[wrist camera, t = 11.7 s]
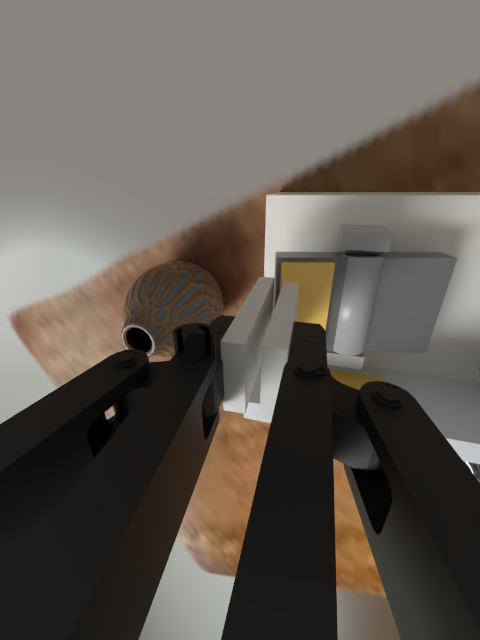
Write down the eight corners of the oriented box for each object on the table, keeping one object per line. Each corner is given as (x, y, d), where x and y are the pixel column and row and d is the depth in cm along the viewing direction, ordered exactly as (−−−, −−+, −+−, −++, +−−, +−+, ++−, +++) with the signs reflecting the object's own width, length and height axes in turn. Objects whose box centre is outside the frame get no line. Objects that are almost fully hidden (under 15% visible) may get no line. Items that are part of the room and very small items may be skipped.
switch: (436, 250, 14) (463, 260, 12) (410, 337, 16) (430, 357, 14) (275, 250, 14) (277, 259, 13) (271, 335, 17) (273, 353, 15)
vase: (211, 239, 22) (152, 270, 15) (245, 315, 24) (209, 376, 17) (146, 269, 25) (68, 307, 17) (182, 335, 27) (126, 394, 19)
